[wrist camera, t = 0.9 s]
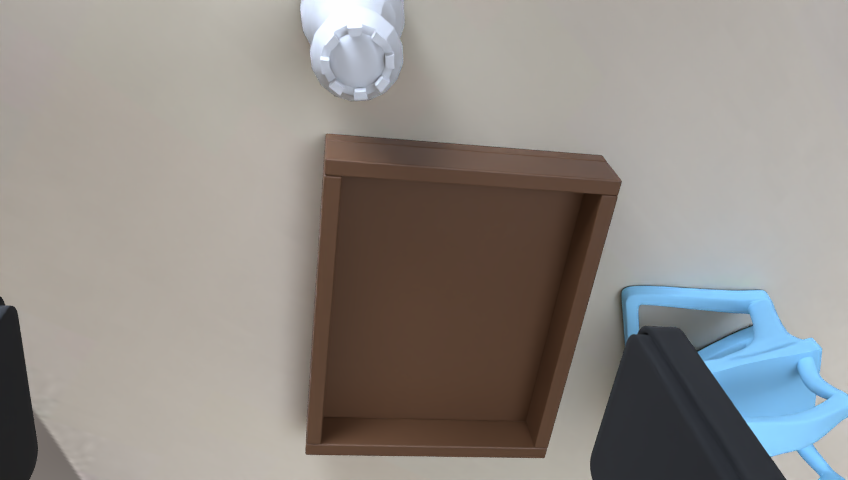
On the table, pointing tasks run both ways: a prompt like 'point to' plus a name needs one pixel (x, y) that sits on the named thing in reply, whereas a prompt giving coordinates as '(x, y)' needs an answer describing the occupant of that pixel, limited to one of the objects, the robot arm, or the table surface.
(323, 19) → the rook chess piece
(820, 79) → the table surface
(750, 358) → the chair
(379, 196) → the tray
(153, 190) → the table surface
